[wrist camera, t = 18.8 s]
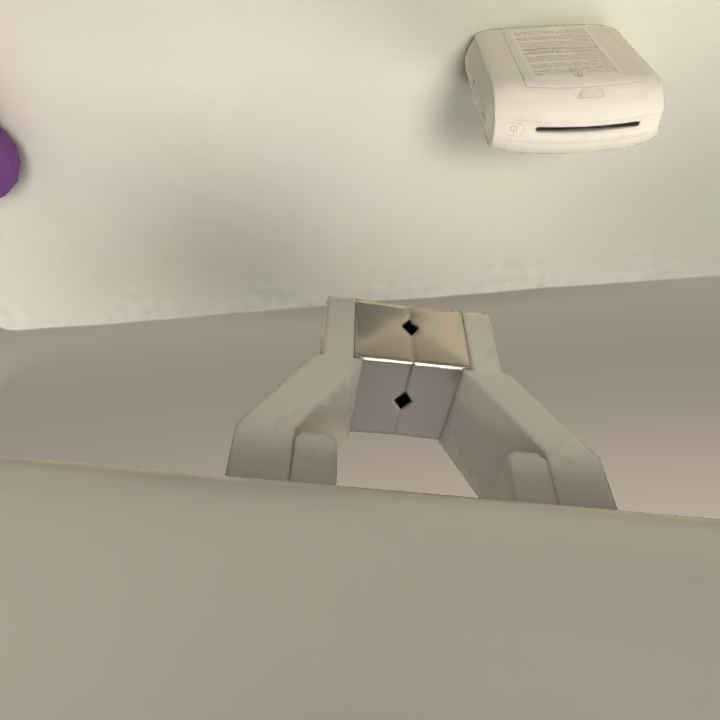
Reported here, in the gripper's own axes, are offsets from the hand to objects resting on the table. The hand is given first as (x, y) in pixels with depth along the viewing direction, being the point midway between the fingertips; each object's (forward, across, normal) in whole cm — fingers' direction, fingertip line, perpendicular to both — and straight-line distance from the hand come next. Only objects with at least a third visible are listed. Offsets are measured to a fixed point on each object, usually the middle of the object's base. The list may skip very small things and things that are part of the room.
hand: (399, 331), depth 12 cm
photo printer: (+37, -12, +5) cm, 40 cm away
